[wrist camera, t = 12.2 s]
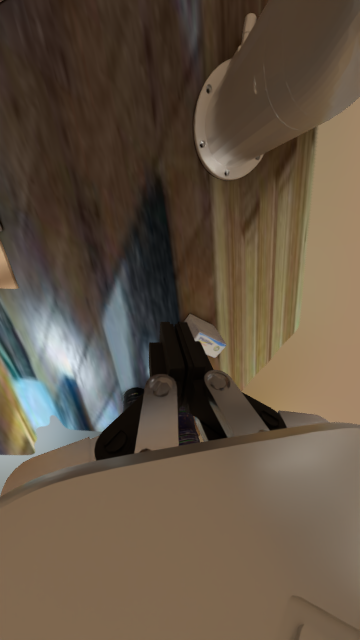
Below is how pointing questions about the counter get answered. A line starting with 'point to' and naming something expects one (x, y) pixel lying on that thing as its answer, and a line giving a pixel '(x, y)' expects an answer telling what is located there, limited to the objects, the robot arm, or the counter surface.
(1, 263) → the wooden cutting board
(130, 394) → the supplement bottle
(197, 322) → the medicine box
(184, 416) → the dark purple cylinder
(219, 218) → the counter surface
